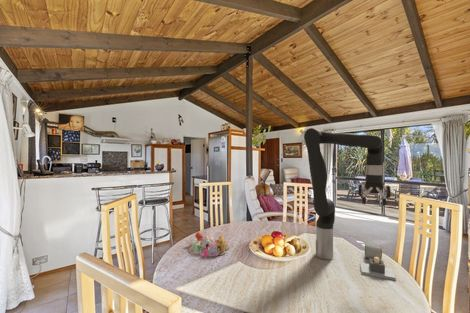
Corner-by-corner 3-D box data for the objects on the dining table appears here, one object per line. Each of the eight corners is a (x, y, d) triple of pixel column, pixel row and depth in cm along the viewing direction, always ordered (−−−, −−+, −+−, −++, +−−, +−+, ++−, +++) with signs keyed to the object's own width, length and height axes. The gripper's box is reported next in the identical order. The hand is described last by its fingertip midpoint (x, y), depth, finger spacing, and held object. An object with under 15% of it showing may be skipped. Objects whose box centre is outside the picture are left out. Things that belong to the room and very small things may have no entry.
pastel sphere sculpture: (228, 242, 154) (228, 228, 154) (229, 257, 131) (229, 241, 131) (191, 242, 153) (191, 228, 153) (185, 258, 130) (185, 242, 130)
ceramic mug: (382, 262, 124) (382, 248, 124) (365, 259, 128) (365, 245, 128) (379, 255, 134) (379, 242, 134) (363, 252, 137) (363, 239, 137)
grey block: (370, 271, 113) (370, 263, 113) (369, 265, 118) (369, 258, 118) (384, 274, 110) (384, 265, 110) (382, 268, 116) (382, 260, 116)
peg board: (361, 273, 113) (361, 259, 112) (360, 264, 122) (360, 251, 122) (395, 280, 107) (395, 265, 107) (391, 270, 116) (391, 256, 116)
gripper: (358, 173, 117) (358, 205, 117) (391, 175, 111) (391, 207, 111) (357, 172, 124) (357, 202, 124) (388, 173, 118) (388, 204, 118)
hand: (373, 204), depth 118 cm, fingers open, 8 cm apart
